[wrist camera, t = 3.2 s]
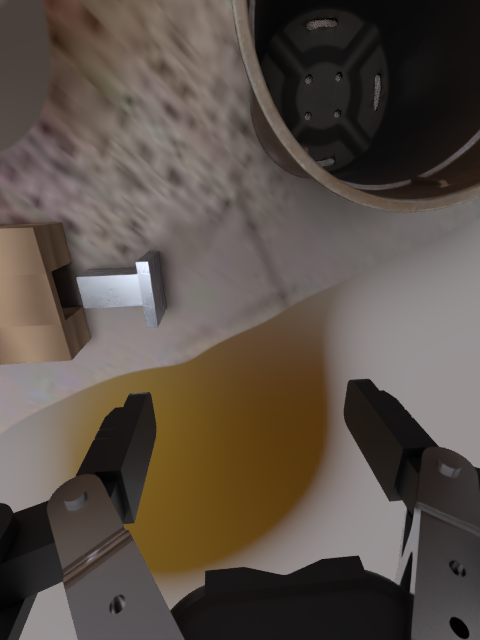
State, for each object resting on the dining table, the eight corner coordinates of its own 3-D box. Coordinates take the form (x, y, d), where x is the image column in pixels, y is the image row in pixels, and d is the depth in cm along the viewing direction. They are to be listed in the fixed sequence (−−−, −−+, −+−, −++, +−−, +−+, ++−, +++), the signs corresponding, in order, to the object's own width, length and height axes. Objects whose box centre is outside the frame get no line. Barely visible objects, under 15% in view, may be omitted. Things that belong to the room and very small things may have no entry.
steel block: (158, 251, 29) (147, 261, 24) (166, 308, 31) (157, 327, 27) (85, 254, 28) (60, 265, 24) (99, 311, 31) (78, 331, 26)
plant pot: (248, 223, 28) (283, 254, 14) (195, 6, 22) (153, -380, 7) (413, 176, 28) (636, 154, 13) (408, -61, 21) (836, -632, 7)
